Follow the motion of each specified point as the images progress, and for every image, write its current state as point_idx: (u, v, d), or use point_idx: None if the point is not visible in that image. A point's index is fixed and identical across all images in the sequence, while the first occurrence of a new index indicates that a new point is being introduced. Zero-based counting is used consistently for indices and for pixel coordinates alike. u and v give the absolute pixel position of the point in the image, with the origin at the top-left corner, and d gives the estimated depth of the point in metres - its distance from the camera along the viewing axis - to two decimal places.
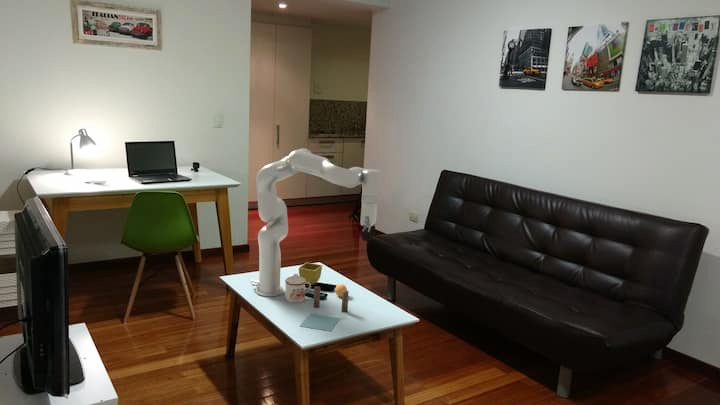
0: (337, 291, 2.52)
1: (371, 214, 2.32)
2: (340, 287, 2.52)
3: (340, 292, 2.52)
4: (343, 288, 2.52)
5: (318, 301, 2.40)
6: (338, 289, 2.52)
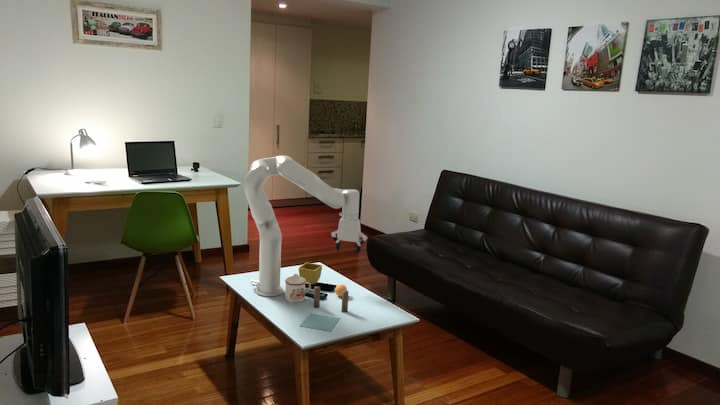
0: (337, 291, 2.52)
1: None
2: (340, 287, 2.52)
3: (340, 292, 2.52)
4: (343, 288, 2.52)
5: (318, 301, 2.40)
6: (338, 289, 2.52)
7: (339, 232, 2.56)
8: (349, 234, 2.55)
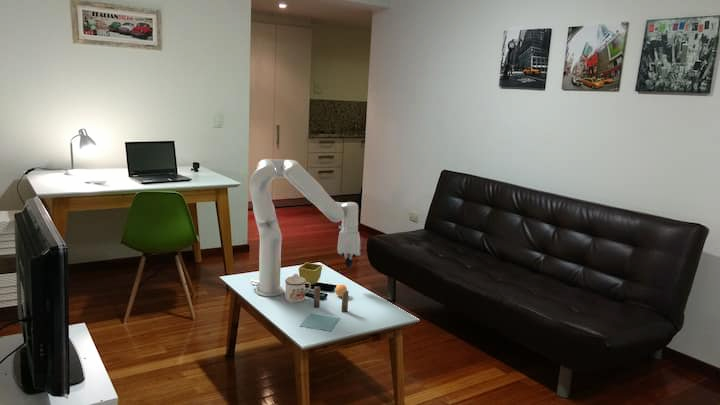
0: (337, 291, 2.52)
1: None
2: (340, 287, 2.52)
3: (340, 292, 2.52)
4: (343, 288, 2.52)
5: (318, 301, 2.40)
6: (338, 289, 2.52)
7: (339, 245, 2.58)
8: (349, 247, 2.57)
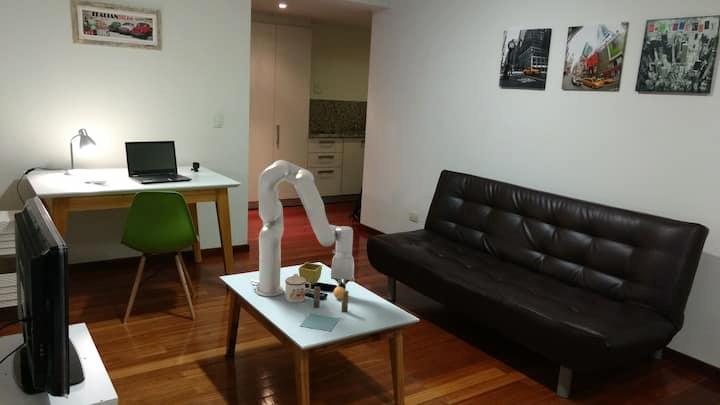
0: (336, 297, 2.50)
1: None
2: (338, 295, 2.49)
3: (339, 298, 2.50)
4: (341, 295, 2.49)
5: (318, 301, 2.40)
6: (336, 296, 2.50)
7: (332, 270, 2.52)
8: (343, 272, 2.51)
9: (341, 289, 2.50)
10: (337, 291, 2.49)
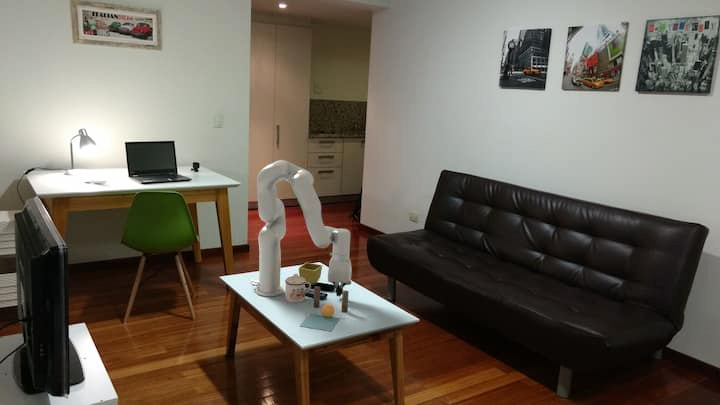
0: None
1: None
2: None
3: None
4: (330, 316, 2.31)
5: (318, 301, 2.40)
6: None
7: (329, 273, 2.48)
8: (340, 275, 2.47)
9: (328, 314, 2.29)
10: (325, 316, 2.30)
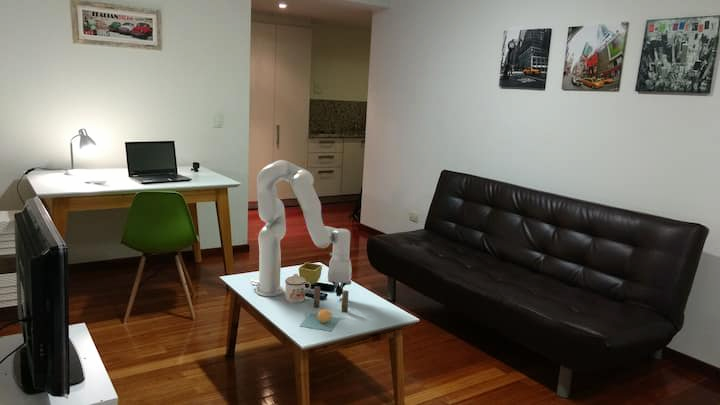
0: None
1: None
2: None
3: (326, 309, 2.27)
4: None
5: (318, 301, 2.40)
6: None
7: (329, 273, 2.48)
8: (340, 275, 2.47)
9: None
10: None
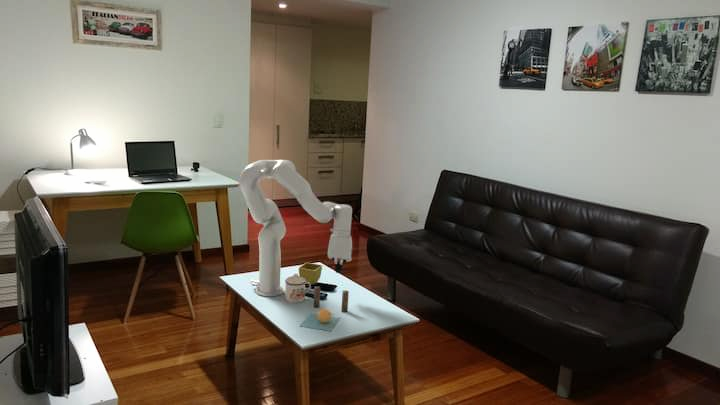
0: None
1: None
2: None
3: (326, 309, 2.27)
4: None
5: (318, 301, 2.40)
6: None
7: (330, 249, 2.46)
8: (340, 251, 2.45)
9: None
10: None
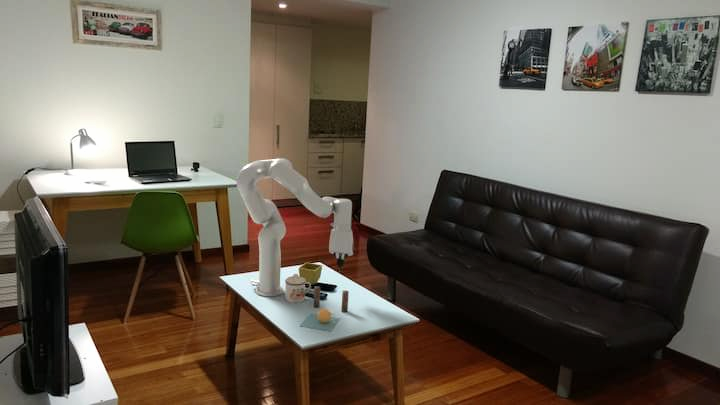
0: None
1: None
2: None
3: (326, 309, 2.27)
4: None
5: (318, 301, 2.40)
6: None
7: (331, 243, 2.45)
8: (341, 246, 2.44)
9: None
10: None
